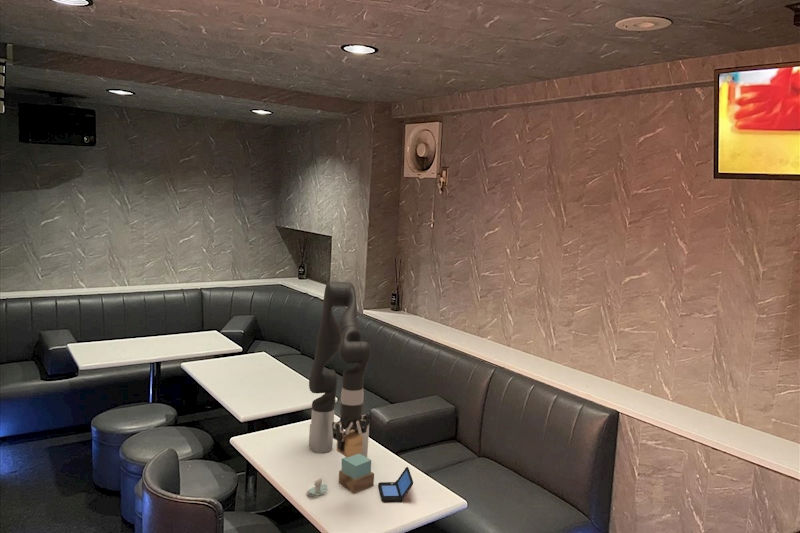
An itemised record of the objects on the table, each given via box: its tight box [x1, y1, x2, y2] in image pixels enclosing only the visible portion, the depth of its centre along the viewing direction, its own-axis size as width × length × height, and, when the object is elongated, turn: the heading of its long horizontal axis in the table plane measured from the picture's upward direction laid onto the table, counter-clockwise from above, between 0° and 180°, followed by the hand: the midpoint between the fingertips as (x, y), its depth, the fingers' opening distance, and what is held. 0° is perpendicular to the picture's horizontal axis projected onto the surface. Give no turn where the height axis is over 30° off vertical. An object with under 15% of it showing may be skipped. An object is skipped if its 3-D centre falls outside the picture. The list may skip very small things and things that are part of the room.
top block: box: [340, 454, 372, 479], centre depth 203 cm, size 8×8×5 cm
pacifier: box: [305, 477, 328, 497], centre depth 196 cm, size 7×6×6 cm
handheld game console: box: [377, 466, 414, 504], centre depth 199 cm, size 12×11×7 cm
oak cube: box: [336, 430, 363, 458], centre depth 188 cm, size 6×6×6 cm
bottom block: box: [338, 469, 375, 494], centre depth 204 cm, size 9×9×5 cm
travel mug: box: [353, 413, 372, 458], centre depth 219 cm, size 6×7×20 cm
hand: (349, 448), depth 188 cm, fingers closed on oak cube, 6 cm apart
